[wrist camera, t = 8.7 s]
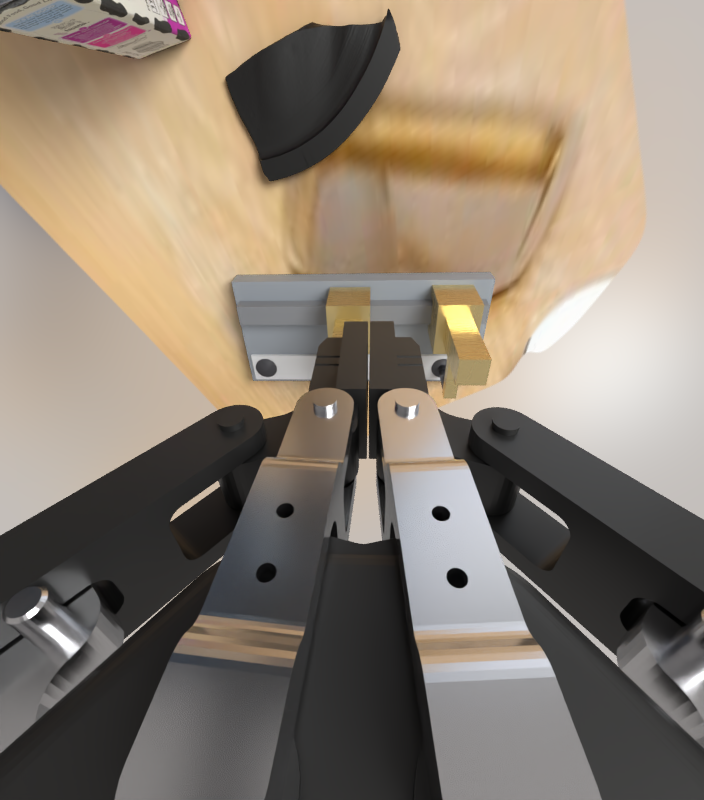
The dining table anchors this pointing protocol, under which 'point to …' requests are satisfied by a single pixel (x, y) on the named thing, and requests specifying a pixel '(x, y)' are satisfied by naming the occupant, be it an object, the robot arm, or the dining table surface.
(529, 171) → the dining table surface
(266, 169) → the dark sector wedge
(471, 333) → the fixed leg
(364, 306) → the slider
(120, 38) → the candy bar box
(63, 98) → the dining table surface
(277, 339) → the board
